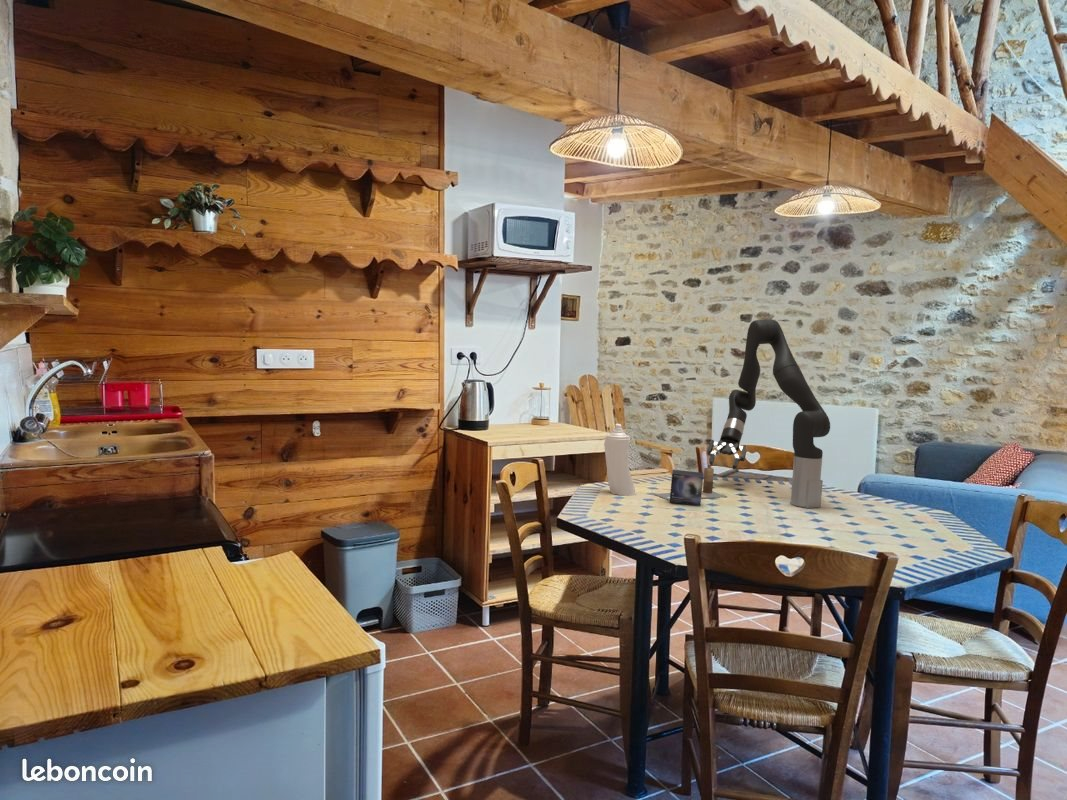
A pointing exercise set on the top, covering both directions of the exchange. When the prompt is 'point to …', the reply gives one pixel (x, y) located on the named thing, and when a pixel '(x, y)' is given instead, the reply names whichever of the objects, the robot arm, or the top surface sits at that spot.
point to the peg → (708, 480)
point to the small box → (686, 487)
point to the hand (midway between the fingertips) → (722, 466)
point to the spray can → (618, 462)
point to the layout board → (703, 496)
